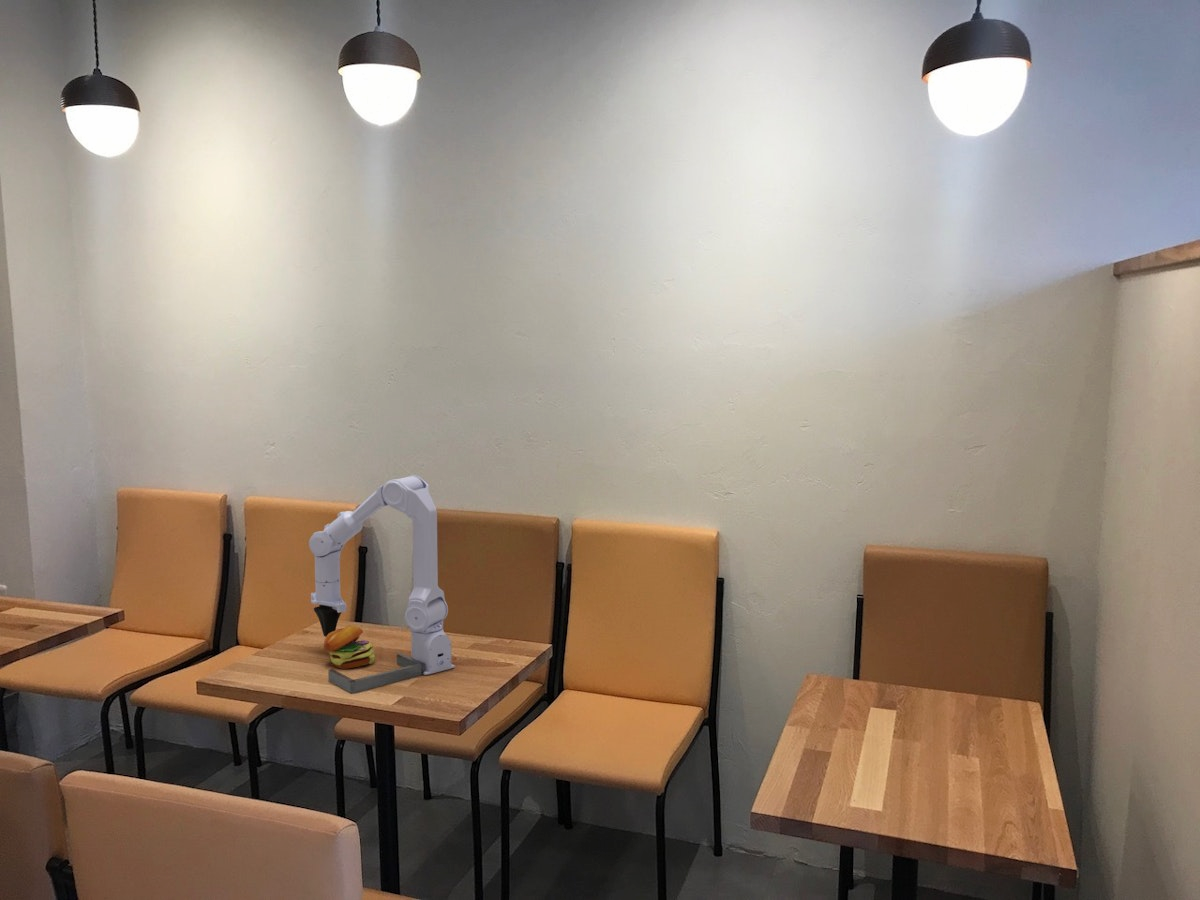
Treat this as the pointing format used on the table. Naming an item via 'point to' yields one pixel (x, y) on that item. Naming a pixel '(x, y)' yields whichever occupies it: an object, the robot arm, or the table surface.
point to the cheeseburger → (348, 648)
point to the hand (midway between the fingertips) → (329, 635)
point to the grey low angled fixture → (379, 675)
